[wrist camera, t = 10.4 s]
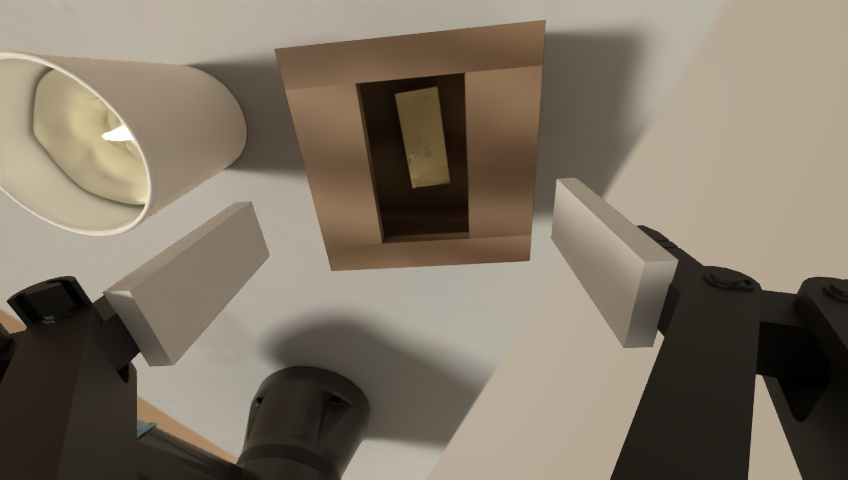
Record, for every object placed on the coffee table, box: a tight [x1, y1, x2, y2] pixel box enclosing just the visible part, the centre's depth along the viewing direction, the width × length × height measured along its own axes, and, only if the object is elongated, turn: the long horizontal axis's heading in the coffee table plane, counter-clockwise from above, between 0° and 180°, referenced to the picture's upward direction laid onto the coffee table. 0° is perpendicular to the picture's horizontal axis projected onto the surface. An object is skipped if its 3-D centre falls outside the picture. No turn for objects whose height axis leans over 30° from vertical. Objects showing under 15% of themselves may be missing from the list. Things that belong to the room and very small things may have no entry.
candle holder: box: [0, 51, 247, 236], centre depth 23 cm, size 10×10×12 cm
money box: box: [274, 20, 546, 271], centre depth 25 cm, size 14×14×9 cm
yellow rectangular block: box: [395, 84, 450, 188], centre depth 26 cm, size 3×7×3 cm, turn 9°
